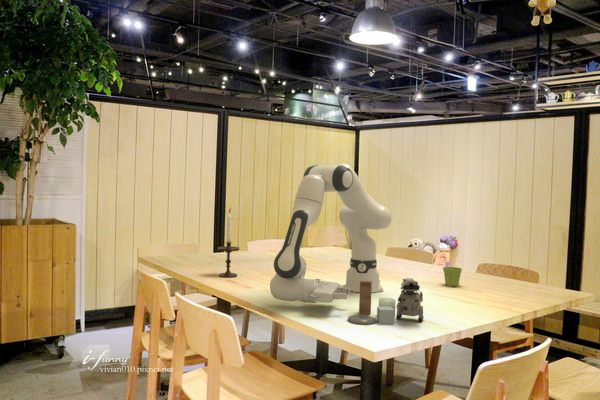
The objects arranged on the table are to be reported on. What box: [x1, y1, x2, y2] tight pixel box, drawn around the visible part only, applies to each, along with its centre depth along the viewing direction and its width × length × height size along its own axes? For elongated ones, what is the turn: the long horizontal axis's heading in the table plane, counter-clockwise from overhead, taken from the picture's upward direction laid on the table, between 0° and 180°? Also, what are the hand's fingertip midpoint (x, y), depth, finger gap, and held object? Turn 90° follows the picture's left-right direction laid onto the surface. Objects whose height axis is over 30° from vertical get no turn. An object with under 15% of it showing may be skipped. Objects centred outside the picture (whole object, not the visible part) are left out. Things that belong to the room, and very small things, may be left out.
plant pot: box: [442, 266, 463, 288], centre depth 247 cm, size 9×9×9 cm
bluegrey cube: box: [376, 305, 396, 325], centre depth 176 cm, size 5×5×5 cm
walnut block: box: [358, 280, 373, 316], centre depth 187 cm, size 4×4×12 cm
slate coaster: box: [347, 314, 378, 326], centre depth 177 cm, size 10×10×1 cm
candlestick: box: [217, 207, 240, 279], centre depth 256 cm, size 11×11×35 cm
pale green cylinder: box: [378, 297, 396, 318], centre depth 185 cm, size 6×6×6 cm
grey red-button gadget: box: [395, 277, 424, 323], centre depth 178 cm, size 9×12×15 cm
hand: (348, 293), depth 189 cm, fingers open, 8 cm apart
